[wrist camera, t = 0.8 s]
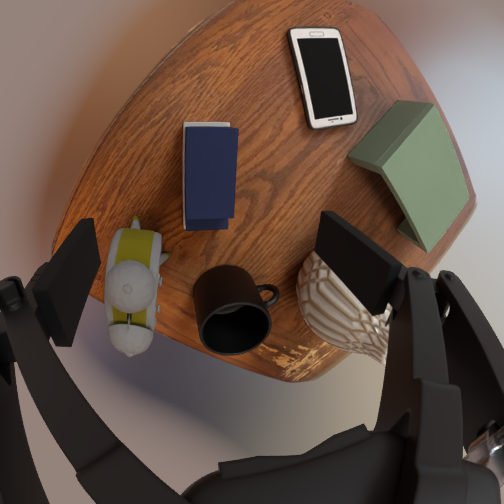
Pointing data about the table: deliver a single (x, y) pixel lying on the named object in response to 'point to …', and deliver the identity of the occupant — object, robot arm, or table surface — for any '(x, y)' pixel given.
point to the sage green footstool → (416, 169)
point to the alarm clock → (133, 287)
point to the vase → (339, 312)
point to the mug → (232, 310)
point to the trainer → (209, 174)
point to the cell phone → (323, 76)
